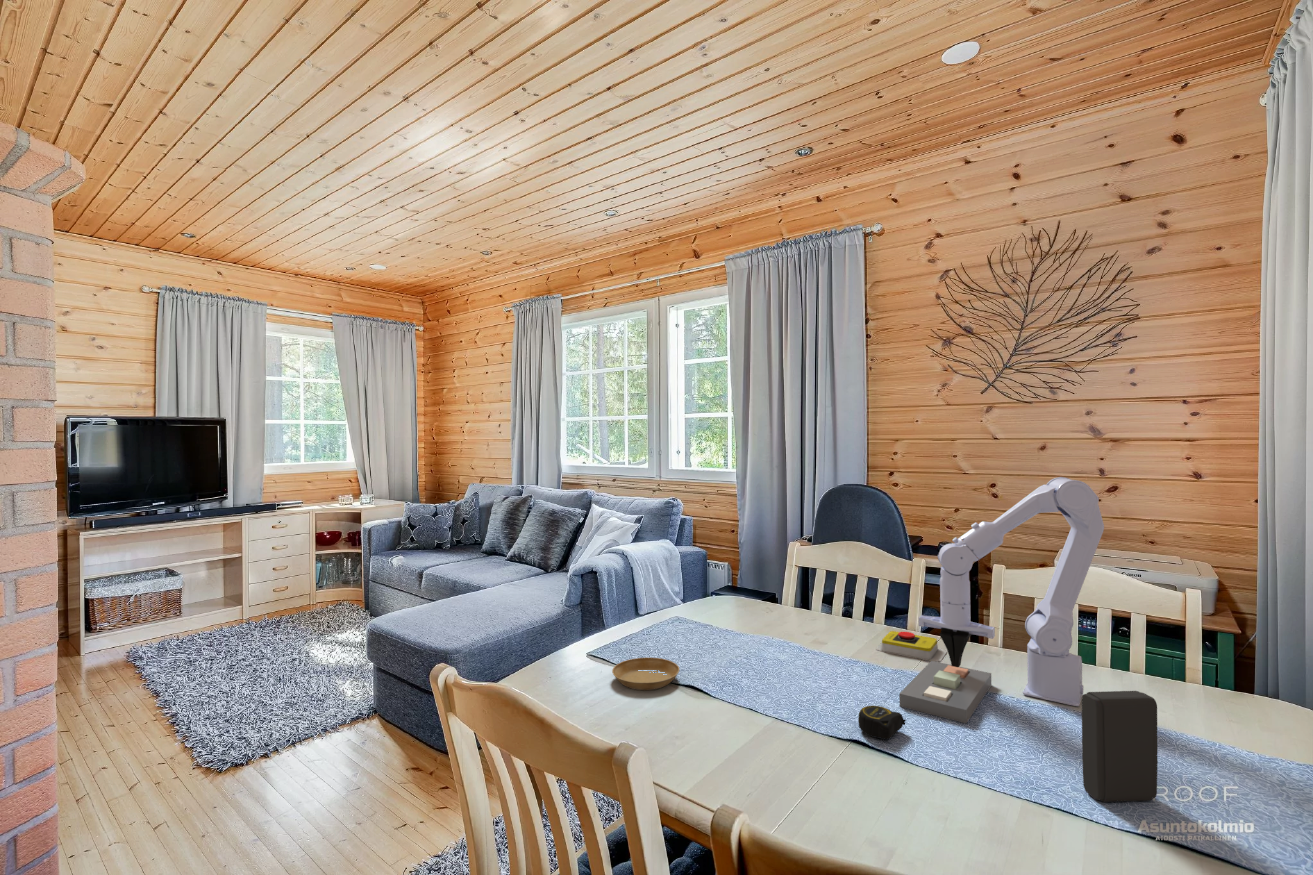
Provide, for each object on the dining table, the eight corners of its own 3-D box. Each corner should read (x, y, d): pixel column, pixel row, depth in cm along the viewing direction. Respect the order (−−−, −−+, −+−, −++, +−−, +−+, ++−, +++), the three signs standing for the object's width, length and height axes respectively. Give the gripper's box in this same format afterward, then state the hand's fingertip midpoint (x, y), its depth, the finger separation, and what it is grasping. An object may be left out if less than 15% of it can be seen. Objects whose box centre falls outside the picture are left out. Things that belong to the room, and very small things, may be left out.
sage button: (960, 687, 127) (960, 674, 127) (955, 693, 123) (955, 681, 123) (939, 682, 129) (939, 670, 129) (934, 688, 126) (933, 676, 126)
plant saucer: (603, 691, 131) (603, 679, 131) (623, 666, 145) (623, 654, 145) (671, 698, 127) (671, 685, 127) (685, 671, 142) (685, 659, 142)
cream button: (951, 703, 121) (951, 690, 121) (945, 711, 118) (945, 697, 118) (929, 698, 124) (929, 685, 124) (923, 705, 121) (923, 692, 121)
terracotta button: (968, 681, 132) (968, 669, 132) (963, 687, 129) (963, 675, 129) (948, 676, 135) (948, 665, 135) (943, 682, 131) (943, 670, 131)
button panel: (991, 684, 131) (991, 673, 131) (966, 723, 114) (966, 709, 114) (931, 671, 139) (931, 660, 139) (899, 706, 122) (899, 693, 121)
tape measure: (888, 747, 106) (888, 725, 106) (851, 733, 111) (851, 712, 111) (905, 733, 111) (905, 712, 111) (869, 720, 116) (869, 700, 116)
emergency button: (884, 624, 161) (947, 635, 152) (885, 641, 161) (948, 652, 152) (874, 634, 153) (939, 645, 144) (874, 651, 153) (940, 664, 144)
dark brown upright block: (1139, 787, 93) (1138, 687, 93) (1161, 803, 89) (1161, 699, 89) (1079, 789, 93) (1078, 689, 93) (1099, 805, 89) (1098, 700, 89)
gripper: (997, 602, 130) (998, 667, 130) (924, 592, 139) (925, 652, 139) (990, 610, 125) (991, 677, 125) (915, 599, 134) (916, 662, 134)
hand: (956, 665), depth 132 cm, fingers closed
